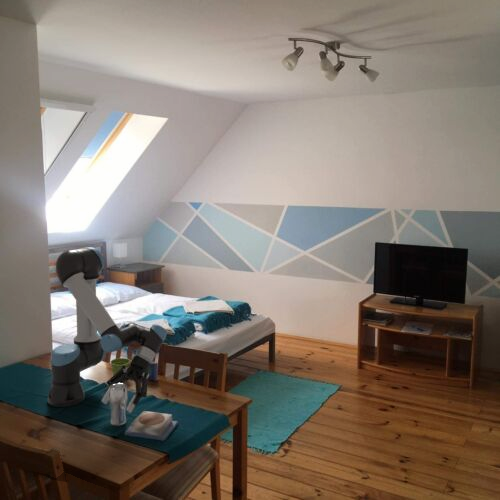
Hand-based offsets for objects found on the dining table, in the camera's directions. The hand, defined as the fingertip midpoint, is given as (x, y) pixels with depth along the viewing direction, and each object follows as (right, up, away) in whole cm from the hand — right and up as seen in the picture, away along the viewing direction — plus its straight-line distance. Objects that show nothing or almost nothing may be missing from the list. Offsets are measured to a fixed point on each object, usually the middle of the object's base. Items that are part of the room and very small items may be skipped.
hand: (115, 407), depth 214 cm
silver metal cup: (0, -7, +3) cm, 7 cm away
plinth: (+15, -7, -3) cm, 16 cm away
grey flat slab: (+15, -8, -3) cm, 17 cm away
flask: (+4, -1, +48) cm, 48 cm away
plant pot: (-9, 0, +48) cm, 48 cm away
